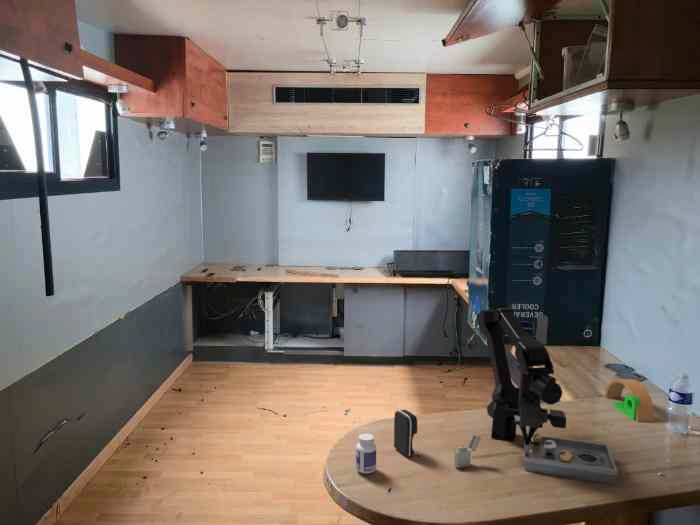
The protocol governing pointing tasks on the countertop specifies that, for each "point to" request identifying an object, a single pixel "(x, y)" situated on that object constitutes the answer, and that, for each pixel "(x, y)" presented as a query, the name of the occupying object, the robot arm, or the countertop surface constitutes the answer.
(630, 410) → the mechanical part
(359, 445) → the pill bottle
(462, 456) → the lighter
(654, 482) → the countertop surface
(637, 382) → the arch
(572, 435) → the countertop surface
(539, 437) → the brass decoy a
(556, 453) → the tray
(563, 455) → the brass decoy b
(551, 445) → the steel ball
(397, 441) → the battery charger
